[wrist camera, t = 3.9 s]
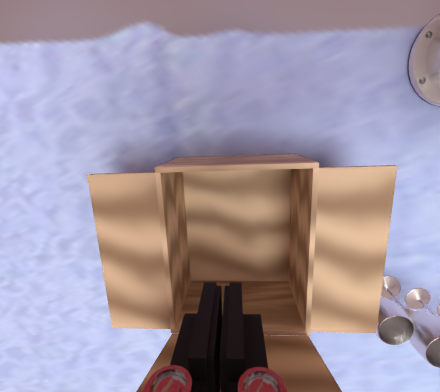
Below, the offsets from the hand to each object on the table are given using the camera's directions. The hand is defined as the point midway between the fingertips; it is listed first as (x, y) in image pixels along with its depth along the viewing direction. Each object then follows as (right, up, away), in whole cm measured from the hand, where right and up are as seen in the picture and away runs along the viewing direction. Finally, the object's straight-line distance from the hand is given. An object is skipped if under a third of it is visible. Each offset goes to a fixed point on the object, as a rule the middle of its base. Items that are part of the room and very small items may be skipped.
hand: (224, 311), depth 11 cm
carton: (+3, +1, +31) cm, 31 cm away
